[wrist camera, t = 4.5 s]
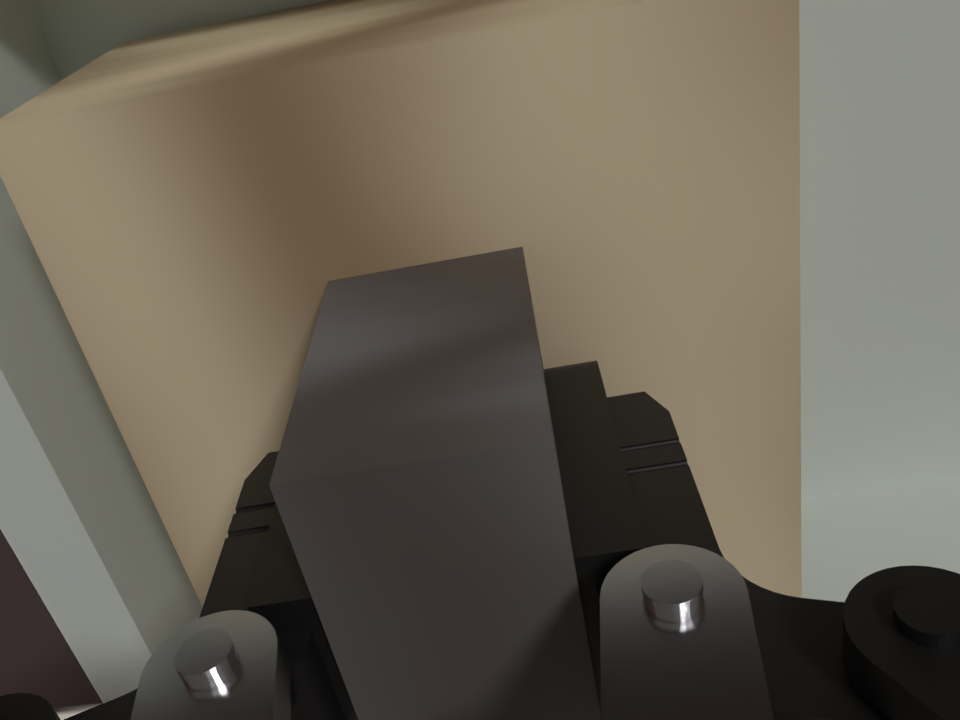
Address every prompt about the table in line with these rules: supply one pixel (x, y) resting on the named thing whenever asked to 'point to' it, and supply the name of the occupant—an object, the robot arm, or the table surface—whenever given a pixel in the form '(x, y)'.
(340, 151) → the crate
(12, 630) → the table surface
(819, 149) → the bay
